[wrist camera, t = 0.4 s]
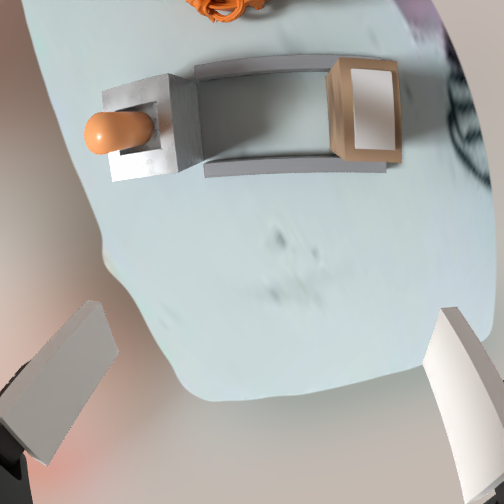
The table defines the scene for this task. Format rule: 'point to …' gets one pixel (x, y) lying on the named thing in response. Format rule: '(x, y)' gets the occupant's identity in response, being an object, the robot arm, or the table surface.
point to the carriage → (364, 110)
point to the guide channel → (279, 163)
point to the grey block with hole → (158, 126)
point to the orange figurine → (224, 8)
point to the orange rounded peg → (117, 131)
